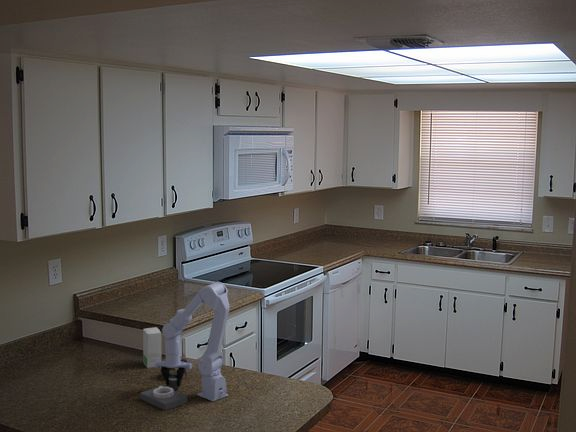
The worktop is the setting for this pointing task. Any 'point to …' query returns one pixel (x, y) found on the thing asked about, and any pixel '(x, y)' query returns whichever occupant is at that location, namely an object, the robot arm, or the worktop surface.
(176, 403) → the camera body
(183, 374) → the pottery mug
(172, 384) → the lens
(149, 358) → the skincare box
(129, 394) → the worktop surface
